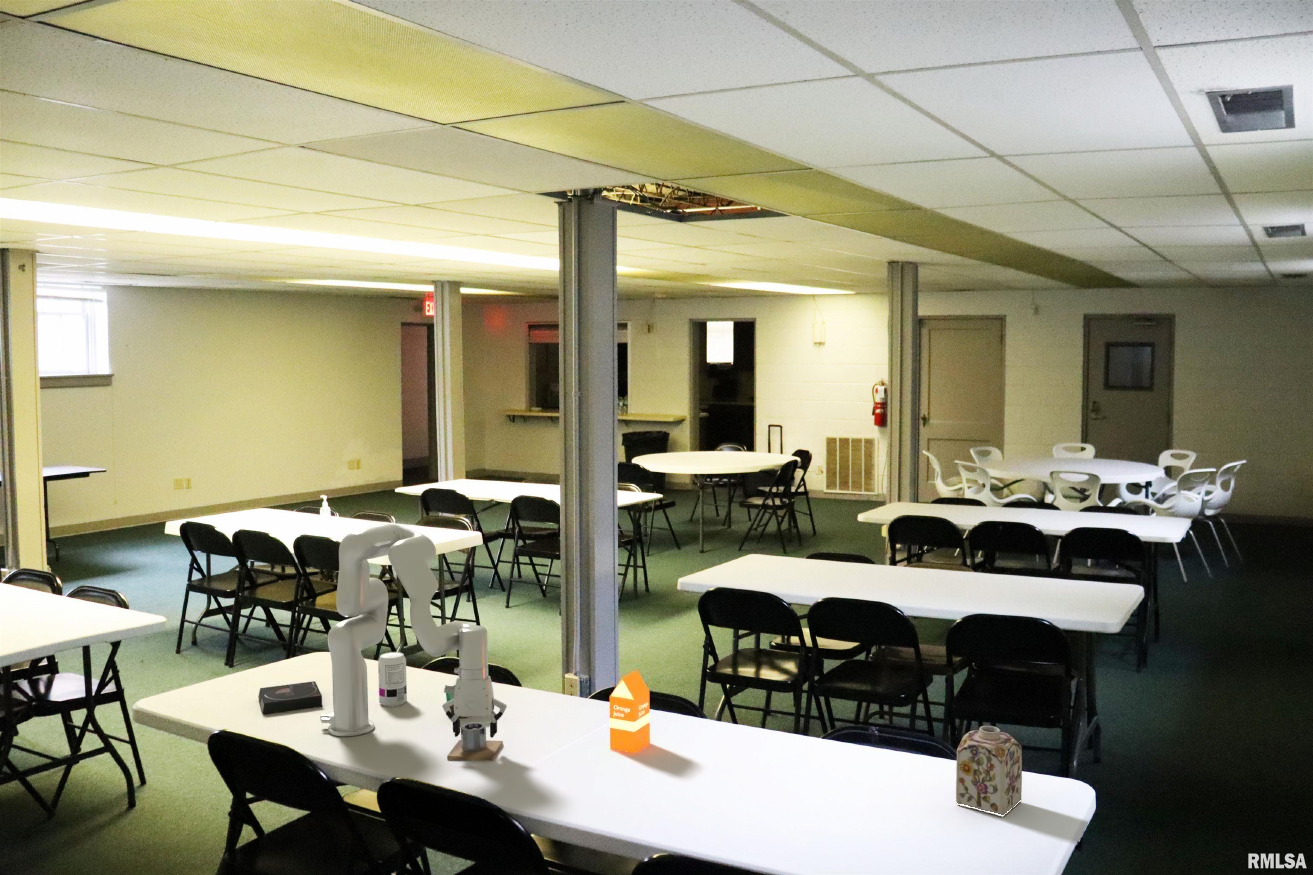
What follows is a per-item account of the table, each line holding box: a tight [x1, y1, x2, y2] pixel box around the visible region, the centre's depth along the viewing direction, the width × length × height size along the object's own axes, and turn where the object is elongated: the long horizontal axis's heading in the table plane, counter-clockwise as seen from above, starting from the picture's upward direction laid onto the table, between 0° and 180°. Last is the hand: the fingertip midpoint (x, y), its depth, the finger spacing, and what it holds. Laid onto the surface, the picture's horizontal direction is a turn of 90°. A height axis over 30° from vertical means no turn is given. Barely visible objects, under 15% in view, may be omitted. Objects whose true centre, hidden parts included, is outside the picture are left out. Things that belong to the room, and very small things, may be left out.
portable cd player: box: [258, 680, 323, 716], centre depth 327 cm, size 16×17×4 cm
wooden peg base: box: [446, 739, 504, 762], centre depth 284 cm, size 12×12×6 cm
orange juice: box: [609, 669, 651, 754], centre depth 287 cm, size 8×9×20 cm
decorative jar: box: [955, 725, 1023, 815], centre depth 248 cm, size 12×12×18 cm
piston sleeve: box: [460, 721, 487, 753], centre depth 284 cm, size 6×6×6 cm
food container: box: [443, 684, 468, 720], centre depth 314 cm, size 12×6×10 cm, turn 143°
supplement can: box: [377, 651, 408, 708], centre depth 326 cm, size 8×8×15 cm
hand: (475, 735), depth 284 cm, fingers open, 9 cm apart
